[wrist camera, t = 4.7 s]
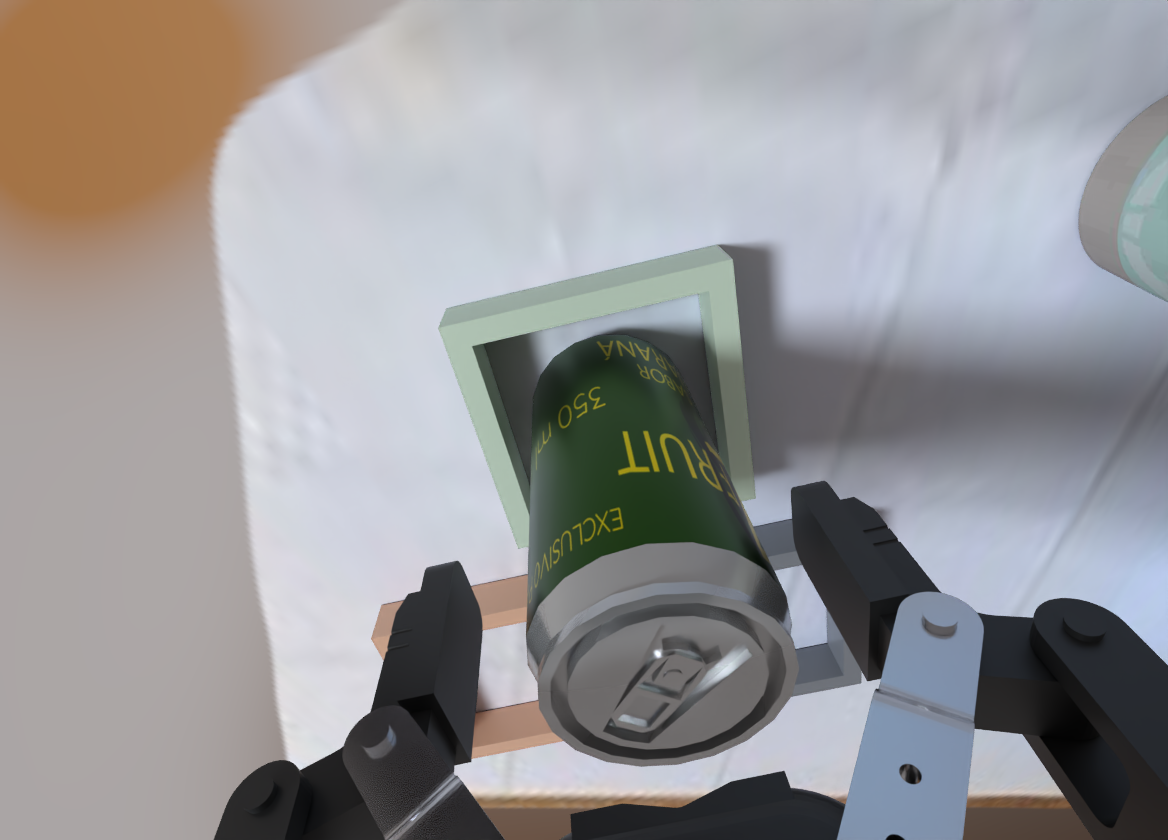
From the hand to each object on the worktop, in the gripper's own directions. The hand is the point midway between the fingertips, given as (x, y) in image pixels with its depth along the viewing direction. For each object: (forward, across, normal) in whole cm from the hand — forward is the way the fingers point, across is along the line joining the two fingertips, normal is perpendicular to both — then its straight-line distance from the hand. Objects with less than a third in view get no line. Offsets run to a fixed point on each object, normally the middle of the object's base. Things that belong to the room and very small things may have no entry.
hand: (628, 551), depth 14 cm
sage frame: (+8, 0, 0) cm, 8 cm away
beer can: (+8, 0, 0) cm, 9 cm away
